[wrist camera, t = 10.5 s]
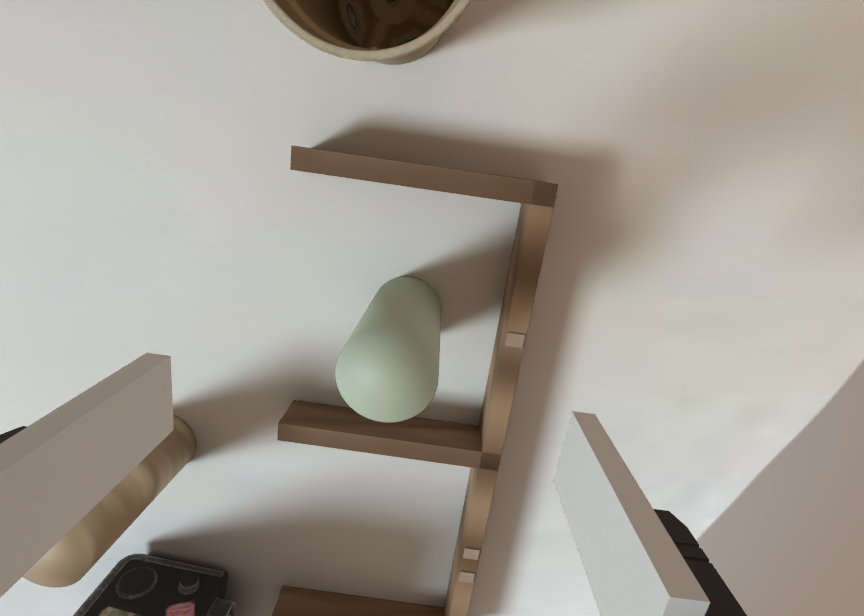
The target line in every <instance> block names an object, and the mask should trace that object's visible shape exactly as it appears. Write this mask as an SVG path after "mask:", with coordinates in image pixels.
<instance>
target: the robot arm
mask: <svg viewBox="0 0 864 616" xmlns="http://www.w3.org/2000/svg"><path fill="white" fill-rule="evenodd" d="M173 430H174V429H173V405H172V381H171V357H170V356H166V355H159V354H151V353H146V354H144V355H142V356H141V357H139V358H138V359H136V360H134V361H133V362H131V363H130V364H128V365H126V366H125V367H123V368H121V369H120V370H118V371H117V372H115V373H113V374H112V375H110V376H109V377H107V378H105V379H104V380H102V381H101V382H99V383H97V384H96V385H94V386H93V387H91V388H89V389H88V390H86V391H84V392H83V393H81V394H80V395H78V396H76V397H75V398H73V399H72V400H70V401H68V402H67V403H65V404H64V405H62V406H60V407H59V408H57V409H55V410H54V411H52V412H51V413H49V414H47V415H46V416H44V417H43V418H41V419H39V420H38V421H36V422H35V423H33V424H31V425H30V426H28V427H25V426H22V427H19V428H17V429H14V430H11V431H9V432H6V433H4V434H1V435H0V597H2V596H3V595H4V594H5V593H6V592H7V591H8V590H9V589H10V588H11V587H12V586H13V585H14V584H15V583H16V582H17V581H18V580H19V579H20V578H21V577H22V576H23V575H24V574H25V573H26V572H27V571H28V570H29V569H30V568H31V567H32V566H34V565H35V564H36V563H37V562H38V561H39V560H40V559H41V558H42V557H43V556H44V555H45V554H46V553H47V552H48V551H49V550H50V549H51V548H52V547H53V546H54V545H55V544H56V543H57V542H58V541H59V540H60V539H61V538H62V537H63V536H65V535H66V534H67V533H68V532H69V531H70V530H71V529H72V528H73V527H74V526H75V525H76V524H77V523H78V522H79V521H80V520H81V519H82V518H83V517H84V516H85V515H86V514H87V513H88V512H89V511H90V510H91V509H92V508H93V507H94V506H96V505H97V504H98V503H99V502H100V501H101V500H102V499H103V498H104V497H105V496H106V495H107V494H108V493H109V492H110V491H111V490H112V489H113V488H114V487H115V486H116V485H117V484H118V483H119V482H120V481H121V480H122V479H123V478H124V477H125V476H127V475H128V474H129V473H130V472H131V471H132V470H133V469H134V468H135V467H136V466H137V465H138V464H139V463H140V462H141V461H142V460H143V459H144V458H145V457H146V456H147V455H148V454H149V453H150V452H151V451H152V450H153V449H154V448H155V447H156V446H158V445H159V444H160V443H161V442H162V441H163V440H164V439H165V438H166V437H167V436H168V435H169V434H170V433H171V432H172V431H173ZM554 484H555V487H556V490H557V492H558V495H559V498H560V501H561V504H562V507H563V510H564V512H565V515H566V518H567V521H568V524H569V527H570V530H571V532H572V535H573V538H574V541H575V544H576V547H577V550H578V552H579V555H580V558H581V561H582V564H583V567H584V569H585V572H586V575H587V578H588V581H589V584H590V587H591V589H592V592H593V595H594V598H595V601H596V604H597V607H598V609H599V612H600V615H601V616H747V615H746V614H745V612H744V611H743V609H742V608H741V606H740V605H739V603H738V602H737V601H736V599H735V597H734V596H733V595H732V593H731V592H730V590H729V589H728V587H727V586H726V584H725V583H724V581H723V580H722V579H721V577H720V575H719V574H718V572H717V571H716V569H715V568H714V566H713V565H712V564H711V563H709V559H708V557H707V556H706V555H705V553H704V552H703V550H702V549H701V548H699V544H698V543H697V541H696V540H695V538H694V537H693V535H692V534H691V532H690V531H689V529H688V528H687V527H686V526H685V525H684V524H683V523H682V522H681V521H679V520H678V519H677V518H676V517H675V516H674V515H673V514H672V513H671V512H669V511H664V510H657V509H653V508H652V506H651V505H650V503H649V501H648V500H647V498H646V497H645V495H644V493H643V492H642V490H641V488H640V487H639V485H638V484H637V482H636V480H635V479H634V477H633V475H632V474H631V472H630V470H629V469H628V467H627V466H626V464H625V462H624V461H623V459H622V457H621V456H620V454H619V453H618V451H617V449H616V448H615V446H614V444H613V443H612V441H611V440H610V438H609V436H608V435H607V433H606V431H605V430H604V428H603V426H602V425H601V423H600V422H599V420H598V418H597V417H596V415H595V414H590V413H582V412H575V411H572V413H571V417H570V420H569V424H568V428H567V432H566V435H565V439H564V443H563V447H562V451H561V454H560V458H559V462H558V466H557V470H556V473H555V477H554Z"/></svg>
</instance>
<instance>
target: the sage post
mask: <svg viewBox="0 0 864 616" xmlns="http://www.w3.org/2000/svg"><path fill="white" fill-rule="evenodd" d="M440 328H441V304H440V300H439V298H438V296H437V294H436V292H435V291H434V290H433V288H432V287H431V286H429V285H428V284H427V283H426V282H424V281H422V280H420V279H417V278H413V277H399V278H395V279H392V280H390V281H388V282H387V283H385V284H384V285H383V286H382V287H381V288H380V289H379V291H378V292H377V294H376V295H375V297H374V298H373V300H372V302H371V303H370V305H369V307H368V308H367V310H366V311H365V313H364V315H363V316H362V318H361V320H360V321H359V323H358V324H357V326H356V328H355V329H354V331H353V333H352V334H351V336H350V337H349V339H348V341H347V342H346V344H345V345H344V347H343V349H342V350H341V352H340V354H339V356H338V359H337V362H336V368H335V377H336V383H337V387H338V389H339V392H340V394H341V396H342V397H343V399H344V400H345V402H346V403H347V404H348V405H349V406H350V407H351V408H352V409H353V410H354V411H356V412H357V413H359V414H360V415H362V416H364V417H366V418H368V419H371V420H374V421H379V422H399V421H403V420H407V419H409V418H412V417H414V416H415V415H417V414H419V413H420V412H421V411H423V410H424V409H425V408H426V407H427V406H428V404H429V403H430V402H431V400H432V399H433V397H434V395H435V392H436V390H437V385H438V376H439V352H440Z"/></svg>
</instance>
